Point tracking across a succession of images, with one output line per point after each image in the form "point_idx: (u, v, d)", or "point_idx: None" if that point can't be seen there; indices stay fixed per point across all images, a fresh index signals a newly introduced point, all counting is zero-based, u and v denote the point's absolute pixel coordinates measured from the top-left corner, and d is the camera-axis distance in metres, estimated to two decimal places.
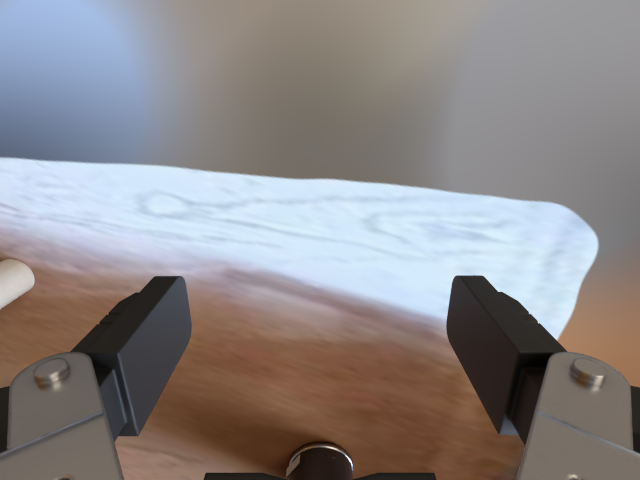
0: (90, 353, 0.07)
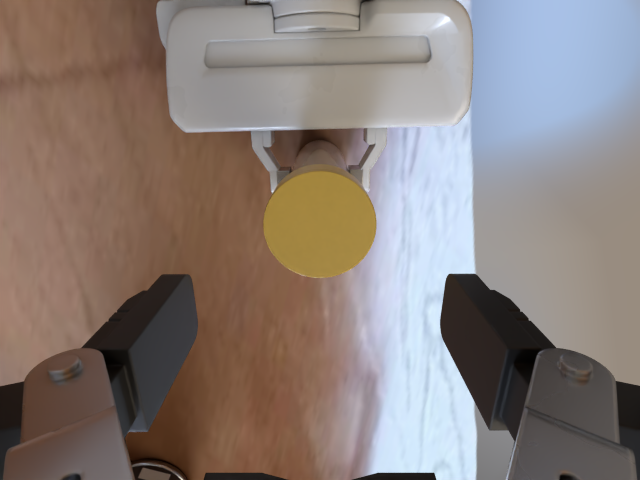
0: (101, 349, 0.07)
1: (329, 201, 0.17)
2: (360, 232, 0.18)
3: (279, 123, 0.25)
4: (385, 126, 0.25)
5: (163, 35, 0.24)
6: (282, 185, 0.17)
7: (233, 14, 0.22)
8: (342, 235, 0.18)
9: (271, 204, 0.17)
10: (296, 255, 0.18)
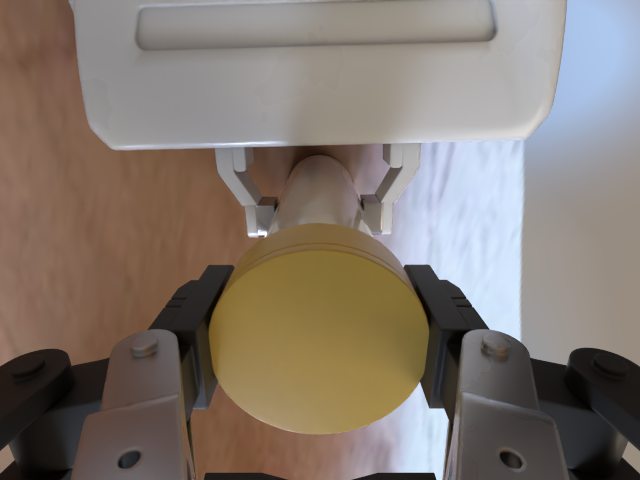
0: (171, 330, 0.08)
1: (337, 306, 0.08)
2: (398, 360, 0.09)
3: (256, 136, 0.16)
4: (419, 141, 0.16)
5: None
6: (242, 276, 0.08)
7: None
8: (363, 365, 0.09)
9: (221, 312, 0.08)
10: (274, 399, 0.09)
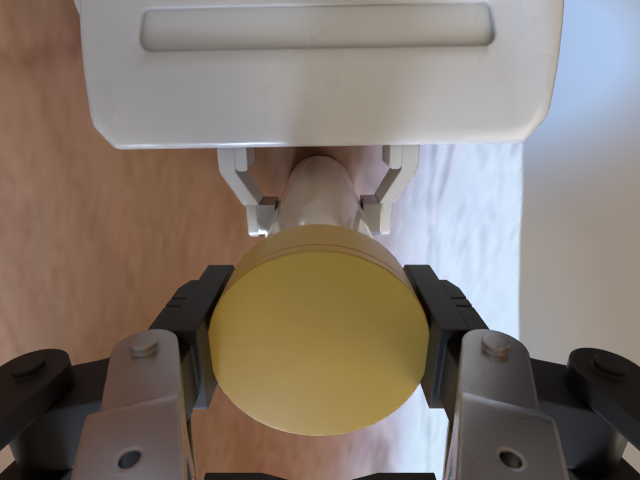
0: (171, 331, 0.08)
1: (264, 341, 0.09)
2: (325, 281, 0.08)
3: (258, 137, 0.16)
4: (418, 143, 0.16)
5: (79, 0, 0.16)
6: (245, 410, 0.10)
7: None
8: (333, 313, 0.08)
9: (281, 425, 0.10)
10: (379, 388, 0.09)
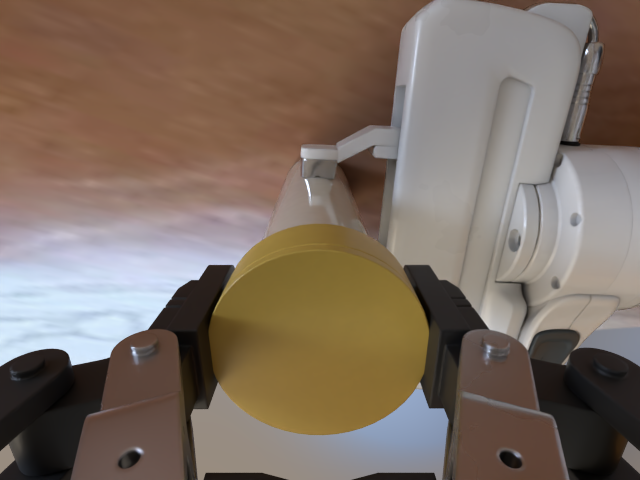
0: (171, 331, 0.08)
1: (264, 340, 0.09)
2: (325, 280, 0.08)
3: (407, 177, 0.17)
4: None
5: (550, 9, 0.16)
6: (245, 409, 0.10)
7: (555, 131, 0.17)
8: (333, 313, 0.09)
9: (281, 425, 0.10)
10: (379, 387, 0.09)
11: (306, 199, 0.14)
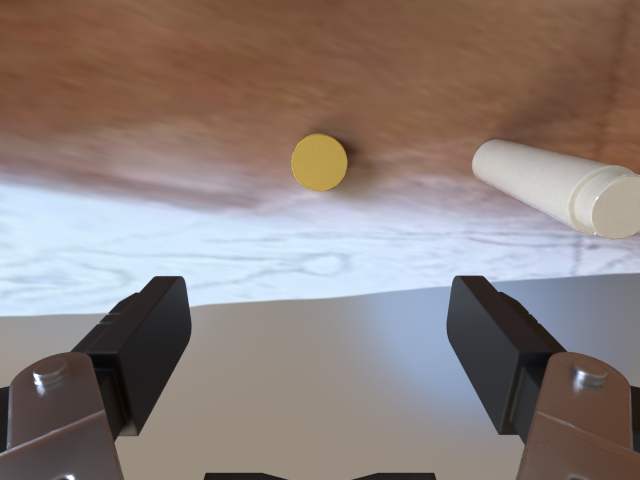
0: (90, 353, 0.07)
1: (306, 160, 0.35)
2: (321, 142, 0.35)
3: None
4: None
5: None
6: (300, 182, 0.36)
7: None
8: (323, 152, 0.35)
9: (309, 187, 0.36)
10: (335, 174, 0.36)
11: (568, 156, 0.26)
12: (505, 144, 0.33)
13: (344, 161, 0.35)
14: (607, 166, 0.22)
